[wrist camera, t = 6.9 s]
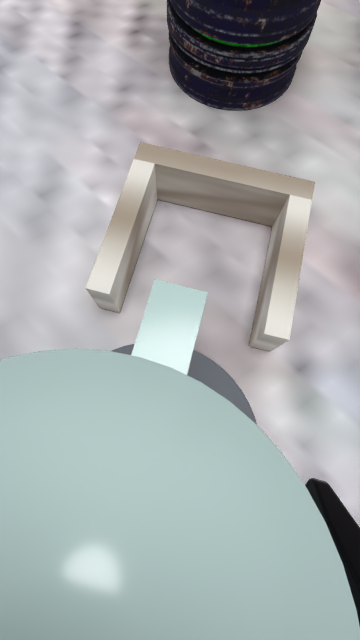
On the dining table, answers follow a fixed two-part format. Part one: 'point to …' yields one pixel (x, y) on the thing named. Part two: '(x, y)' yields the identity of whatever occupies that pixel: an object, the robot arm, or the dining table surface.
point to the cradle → (218, 197)
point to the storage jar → (237, 48)
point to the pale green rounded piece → (153, 502)
